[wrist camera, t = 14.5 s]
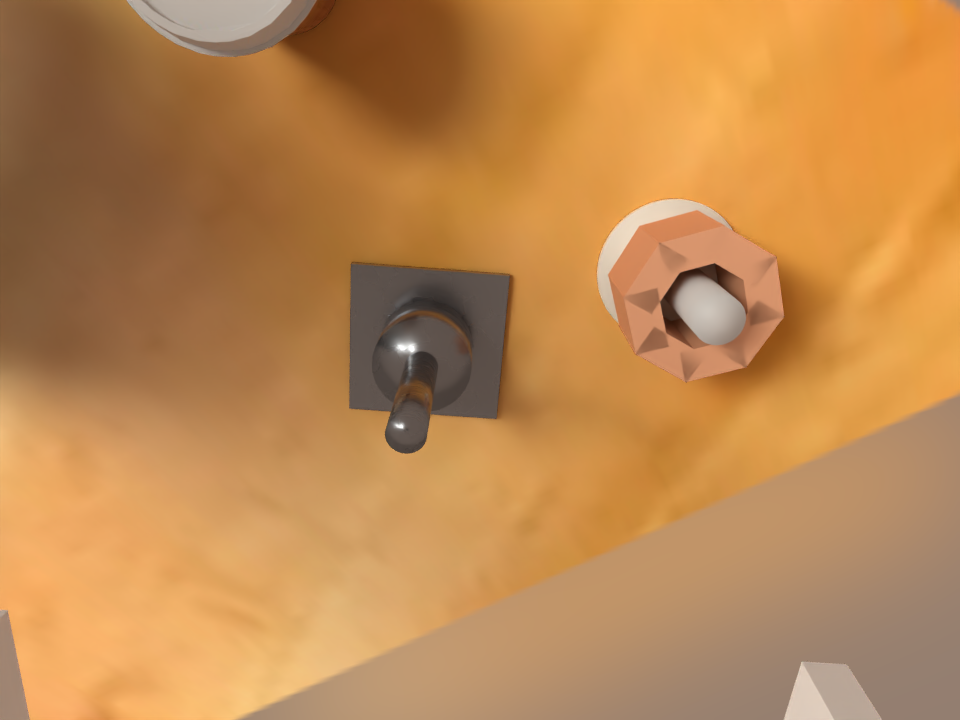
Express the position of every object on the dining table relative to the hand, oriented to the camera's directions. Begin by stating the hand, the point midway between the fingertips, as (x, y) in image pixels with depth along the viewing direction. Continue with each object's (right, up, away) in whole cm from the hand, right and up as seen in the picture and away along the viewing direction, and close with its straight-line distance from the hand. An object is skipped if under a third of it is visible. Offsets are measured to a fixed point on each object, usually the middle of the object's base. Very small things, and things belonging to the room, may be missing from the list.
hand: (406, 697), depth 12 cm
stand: (-2, +7, +35) cm, 35 cm away
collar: (+13, +10, +30) cm, 34 cm away
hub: (+13, +11, +33) cm, 37 cm away
